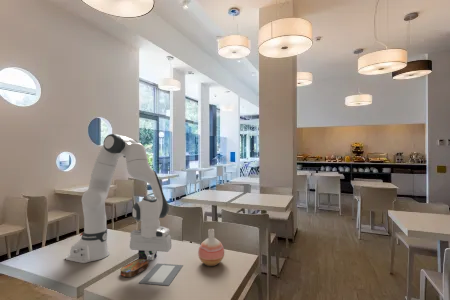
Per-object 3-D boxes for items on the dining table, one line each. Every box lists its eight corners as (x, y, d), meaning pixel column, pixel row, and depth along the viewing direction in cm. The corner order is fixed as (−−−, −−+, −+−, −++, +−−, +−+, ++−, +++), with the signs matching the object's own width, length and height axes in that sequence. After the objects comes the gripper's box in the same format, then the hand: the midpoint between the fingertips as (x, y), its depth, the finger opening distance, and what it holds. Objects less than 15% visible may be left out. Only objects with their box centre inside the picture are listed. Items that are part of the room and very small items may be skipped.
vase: (229, 261, 130) (228, 228, 130) (216, 272, 118) (215, 235, 118) (207, 256, 136) (207, 224, 137) (193, 266, 124) (192, 231, 125)
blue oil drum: (156, 252, 142) (156, 226, 142) (157, 259, 133) (157, 231, 133) (138, 254, 139) (138, 228, 139) (137, 261, 130) (137, 233, 130)
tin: (129, 273, 112) (116, 268, 115) (129, 280, 112) (116, 275, 115) (152, 260, 125) (140, 256, 129) (151, 266, 125) (139, 262, 129)
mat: (138, 283, 108) (138, 282, 108) (157, 263, 127) (157, 263, 127) (168, 285, 106) (168, 285, 106) (182, 265, 125) (182, 265, 125)
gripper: (127, 231, 116) (127, 260, 116) (167, 233, 113) (167, 263, 113) (133, 227, 122) (134, 255, 122) (172, 229, 119) (172, 257, 119)
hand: (150, 259), depth 118 cm, fingers closed
